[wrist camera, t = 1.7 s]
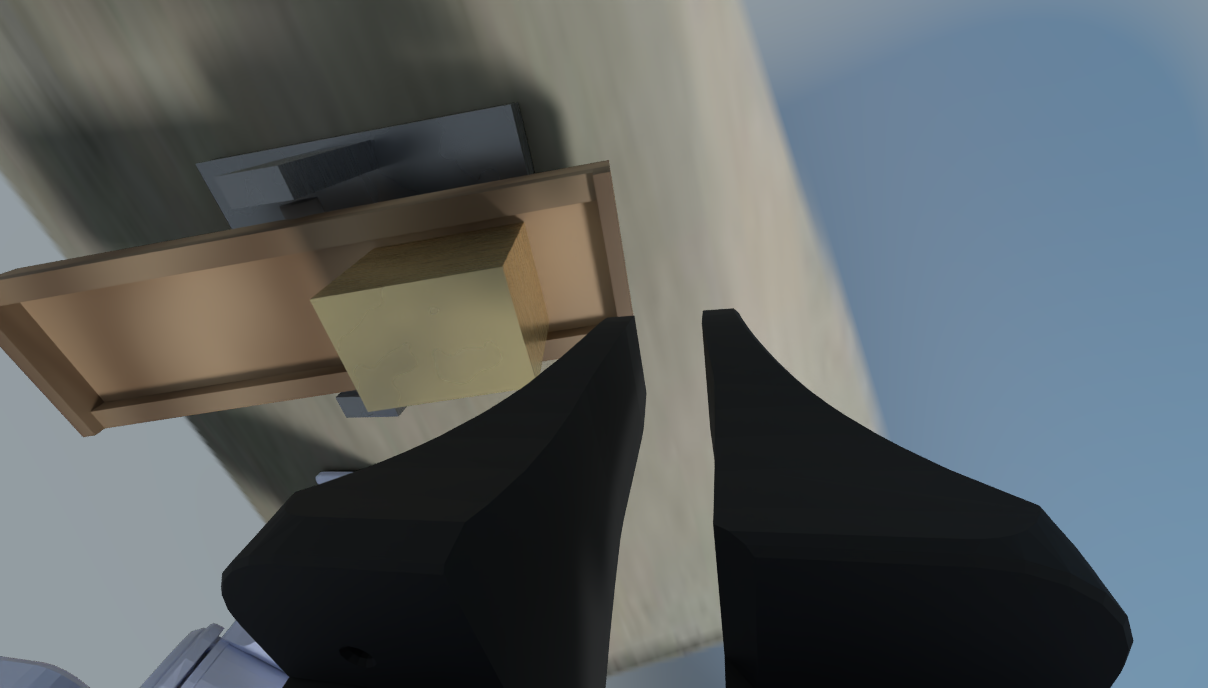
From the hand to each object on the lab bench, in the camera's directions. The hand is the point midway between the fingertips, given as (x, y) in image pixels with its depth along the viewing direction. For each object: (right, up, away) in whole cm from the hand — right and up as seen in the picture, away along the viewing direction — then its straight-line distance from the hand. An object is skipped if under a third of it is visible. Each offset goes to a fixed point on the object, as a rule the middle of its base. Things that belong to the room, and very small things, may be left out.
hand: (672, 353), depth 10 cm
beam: (-11, +2, +7) cm, 14 cm away
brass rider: (-6, +2, +6) cm, 9 cm away
